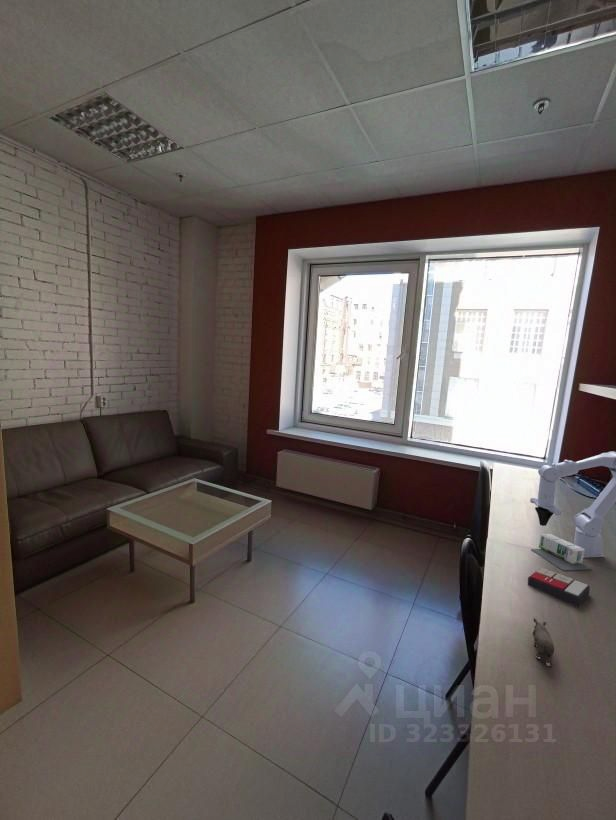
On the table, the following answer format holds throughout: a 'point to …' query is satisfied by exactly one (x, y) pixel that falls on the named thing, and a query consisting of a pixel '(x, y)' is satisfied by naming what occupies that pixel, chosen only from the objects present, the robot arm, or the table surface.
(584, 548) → the robot arm
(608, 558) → the table surface
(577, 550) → the syrup box
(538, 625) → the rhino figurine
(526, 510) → the table surface
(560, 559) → the mat
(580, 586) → the red and white box
